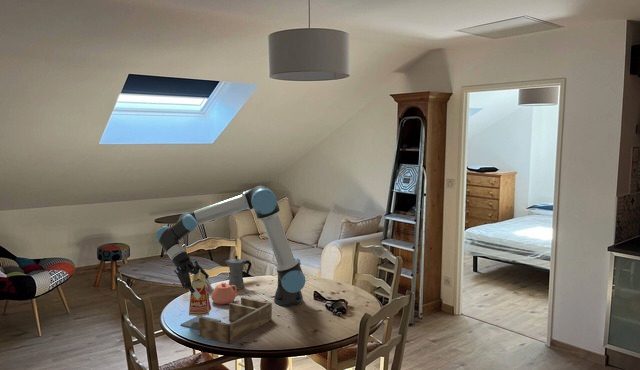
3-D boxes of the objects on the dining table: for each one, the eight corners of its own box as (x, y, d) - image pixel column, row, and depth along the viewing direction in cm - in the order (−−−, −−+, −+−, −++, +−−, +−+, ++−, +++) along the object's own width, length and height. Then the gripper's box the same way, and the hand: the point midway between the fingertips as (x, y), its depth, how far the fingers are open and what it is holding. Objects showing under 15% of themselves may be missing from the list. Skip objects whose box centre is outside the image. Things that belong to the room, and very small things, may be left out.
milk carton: (192, 308, 247) (190, 267, 244) (211, 308, 248) (210, 267, 245) (188, 316, 238) (186, 274, 235) (208, 316, 239) (207, 274, 236)
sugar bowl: (208, 300, 275) (208, 281, 274) (233, 296, 282) (233, 277, 281) (215, 307, 265) (215, 288, 263) (242, 303, 272) (242, 284, 270)
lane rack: (199, 336, 230) (199, 318, 229) (242, 312, 258) (242, 297, 257) (230, 344, 222) (230, 326, 221) (271, 319, 251) (271, 303, 250)
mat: (180, 325, 241) (180, 324, 241) (199, 316, 252) (199, 315, 252) (202, 331, 235) (202, 329, 235) (221, 321, 246) (221, 320, 246)
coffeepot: (222, 288, 295) (222, 257, 293) (227, 283, 304) (227, 253, 302) (249, 290, 293) (249, 258, 291) (253, 285, 302) (253, 254, 300)
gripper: (189, 255, 256) (215, 293, 251) (157, 265, 238) (185, 306, 232) (198, 246, 253) (224, 284, 248) (166, 256, 234) (194, 296, 229)
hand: (205, 294), depth 240 cm, fingers closed on milk carton, 9 cm apart
